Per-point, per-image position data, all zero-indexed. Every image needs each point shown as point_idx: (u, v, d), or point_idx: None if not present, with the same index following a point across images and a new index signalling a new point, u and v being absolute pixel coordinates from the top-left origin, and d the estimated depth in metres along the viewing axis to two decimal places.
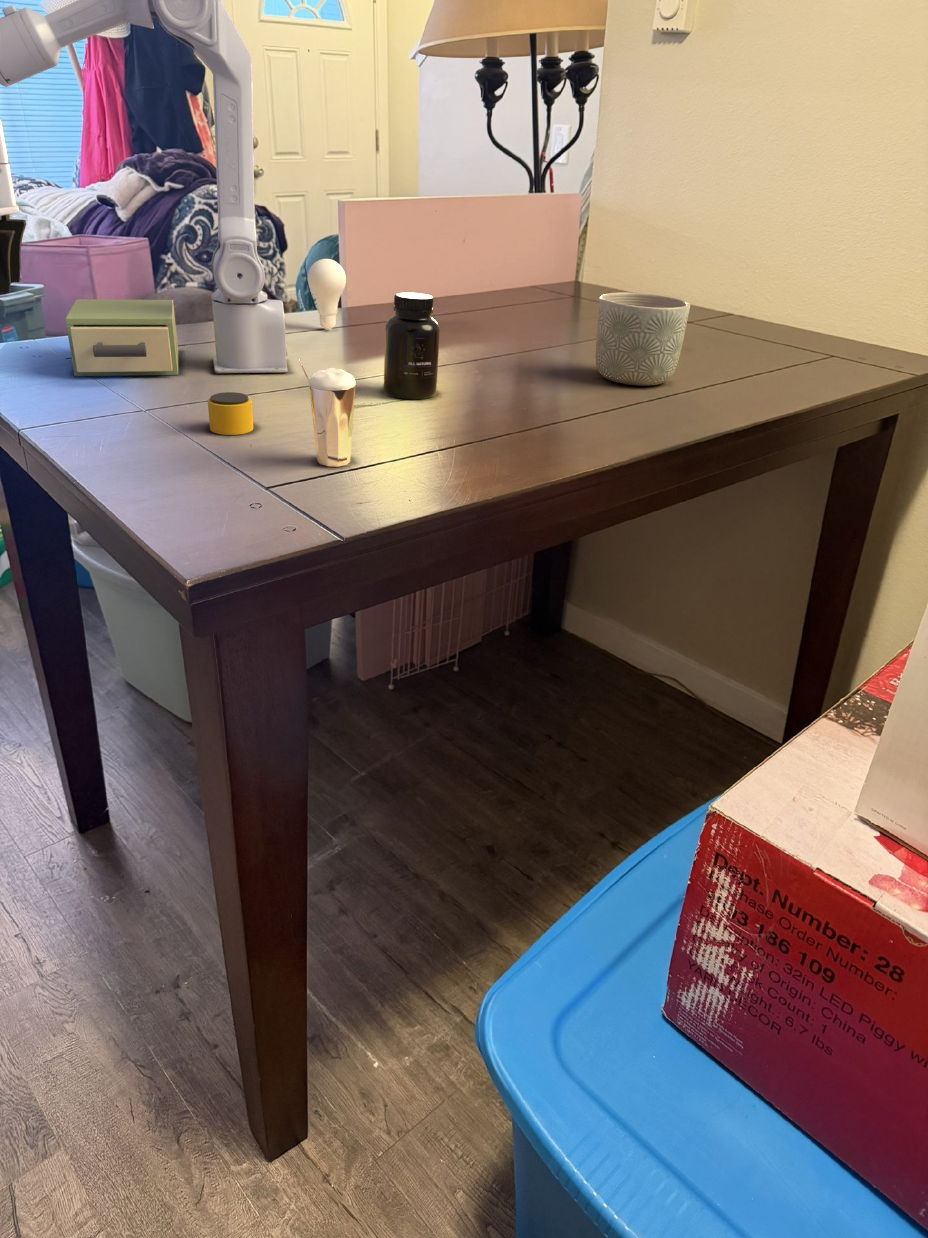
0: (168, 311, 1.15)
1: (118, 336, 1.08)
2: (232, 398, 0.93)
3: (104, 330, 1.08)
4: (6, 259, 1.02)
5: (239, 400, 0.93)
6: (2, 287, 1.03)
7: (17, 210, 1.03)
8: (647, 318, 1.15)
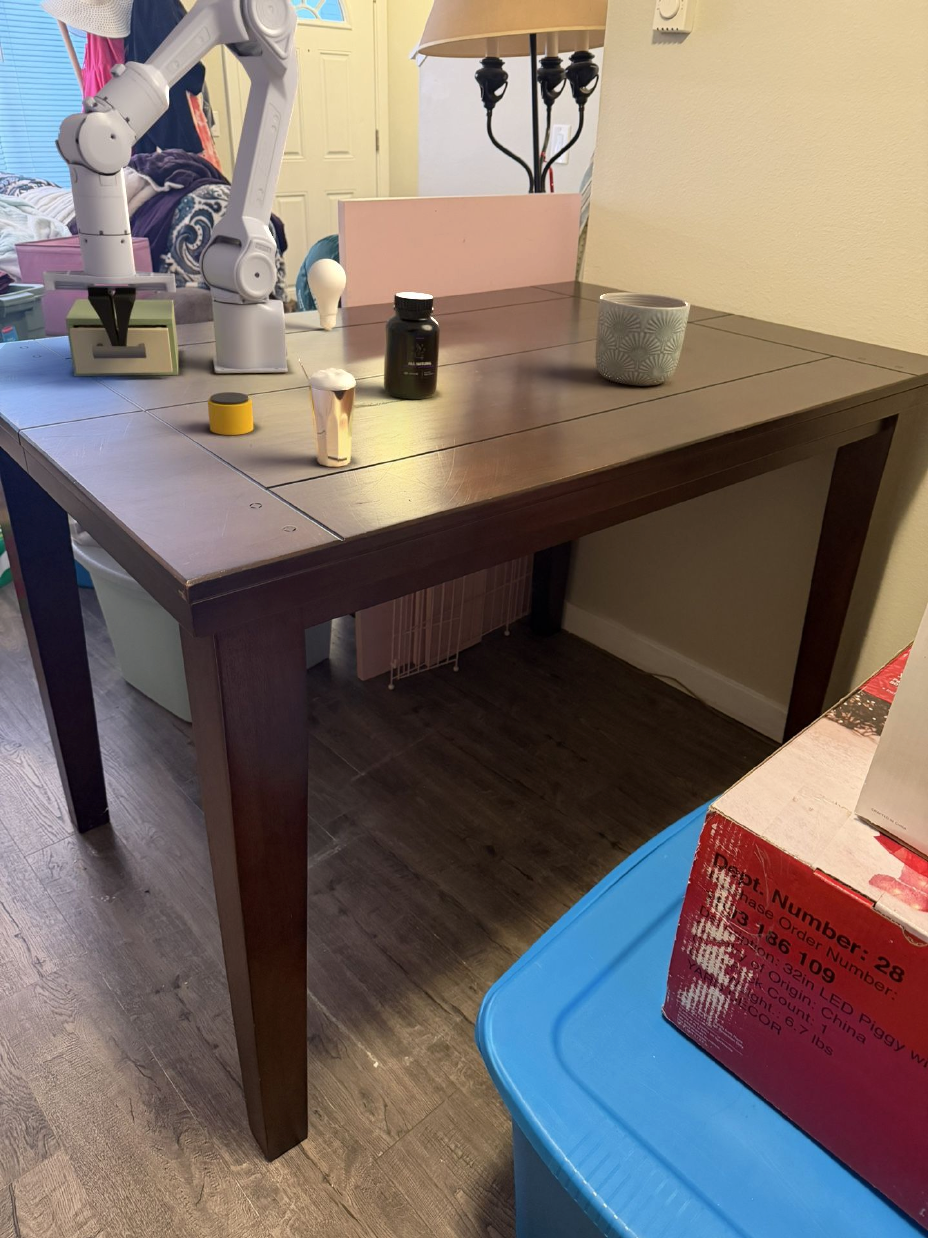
0: (168, 311, 1.15)
1: None
2: (232, 398, 0.93)
3: (104, 331, 1.07)
4: (102, 323, 1.04)
5: (239, 400, 0.93)
6: None
7: (103, 281, 1.00)
8: (647, 318, 1.15)
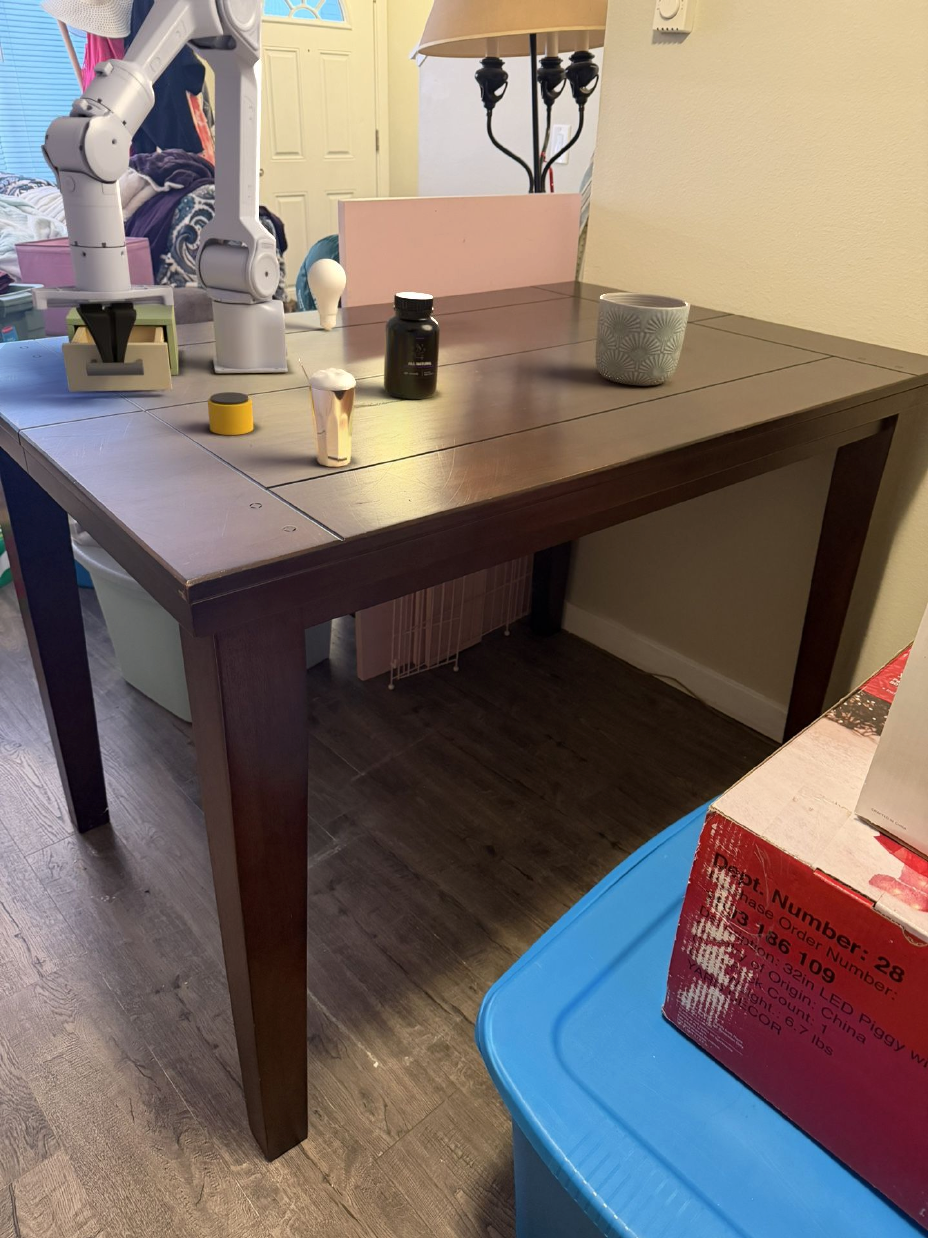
0: (168, 311, 1.15)
1: None
2: (232, 398, 0.93)
3: None
4: (98, 342, 0.96)
5: (239, 400, 0.93)
6: None
7: (105, 297, 0.94)
8: (647, 318, 1.15)
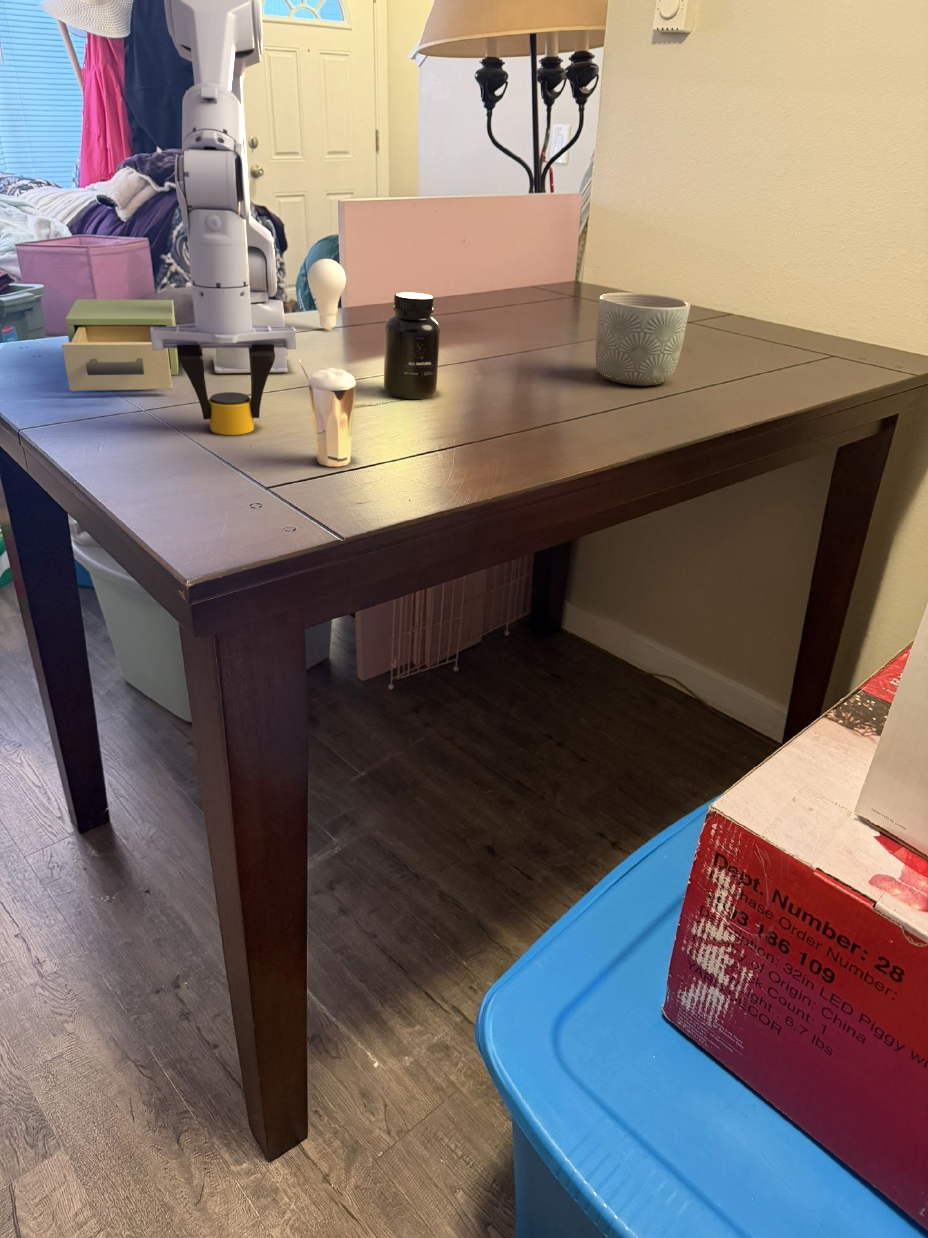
0: (168, 311, 1.15)
1: (113, 352, 1.01)
2: (232, 398, 0.93)
3: (98, 346, 1.00)
4: None
5: (239, 400, 0.93)
6: None
7: None
8: (647, 318, 1.15)
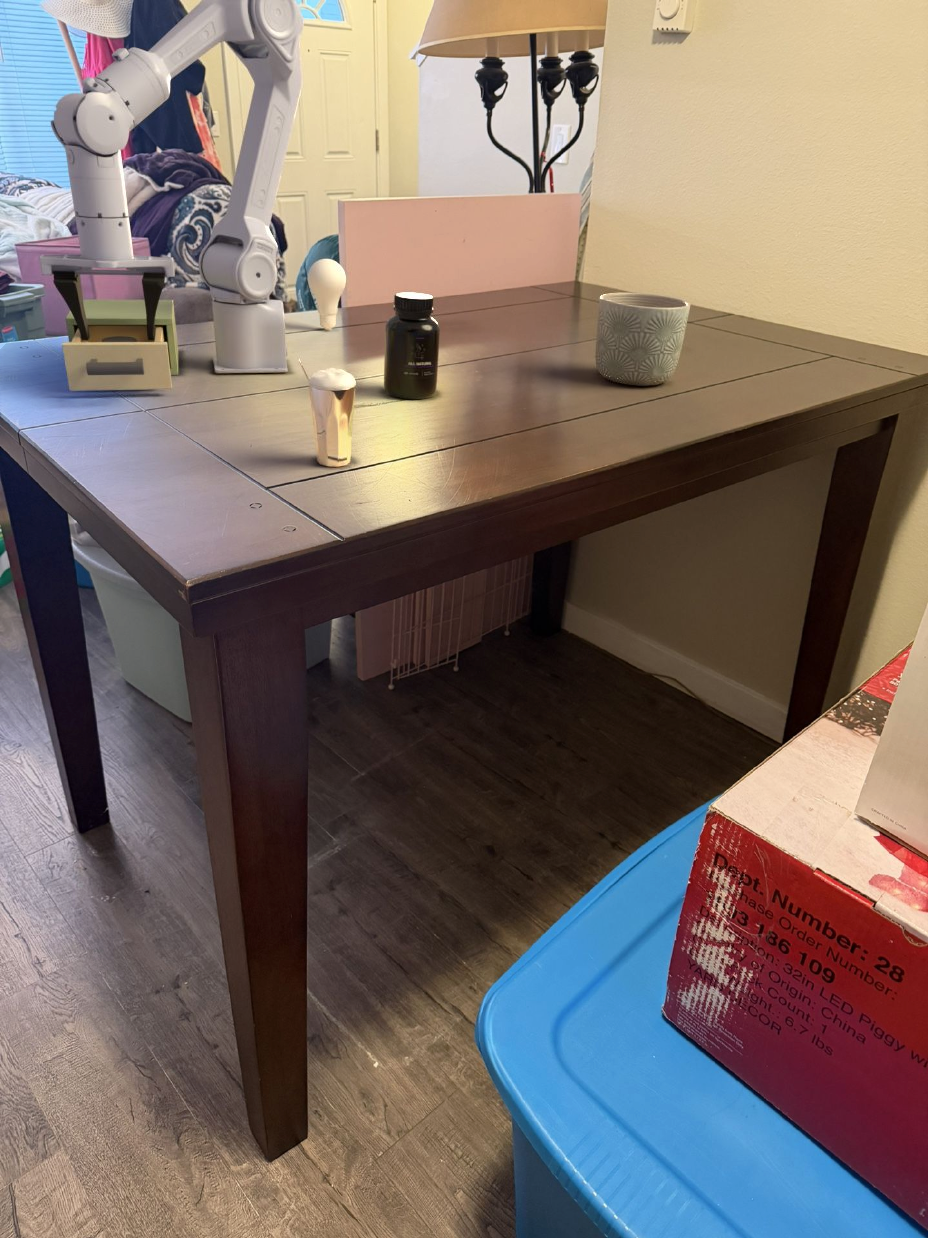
0: (168, 311, 1.15)
1: (113, 352, 1.01)
2: (121, 340, 1.05)
3: (98, 346, 1.00)
4: None
5: None
6: None
7: None
8: (647, 318, 1.15)
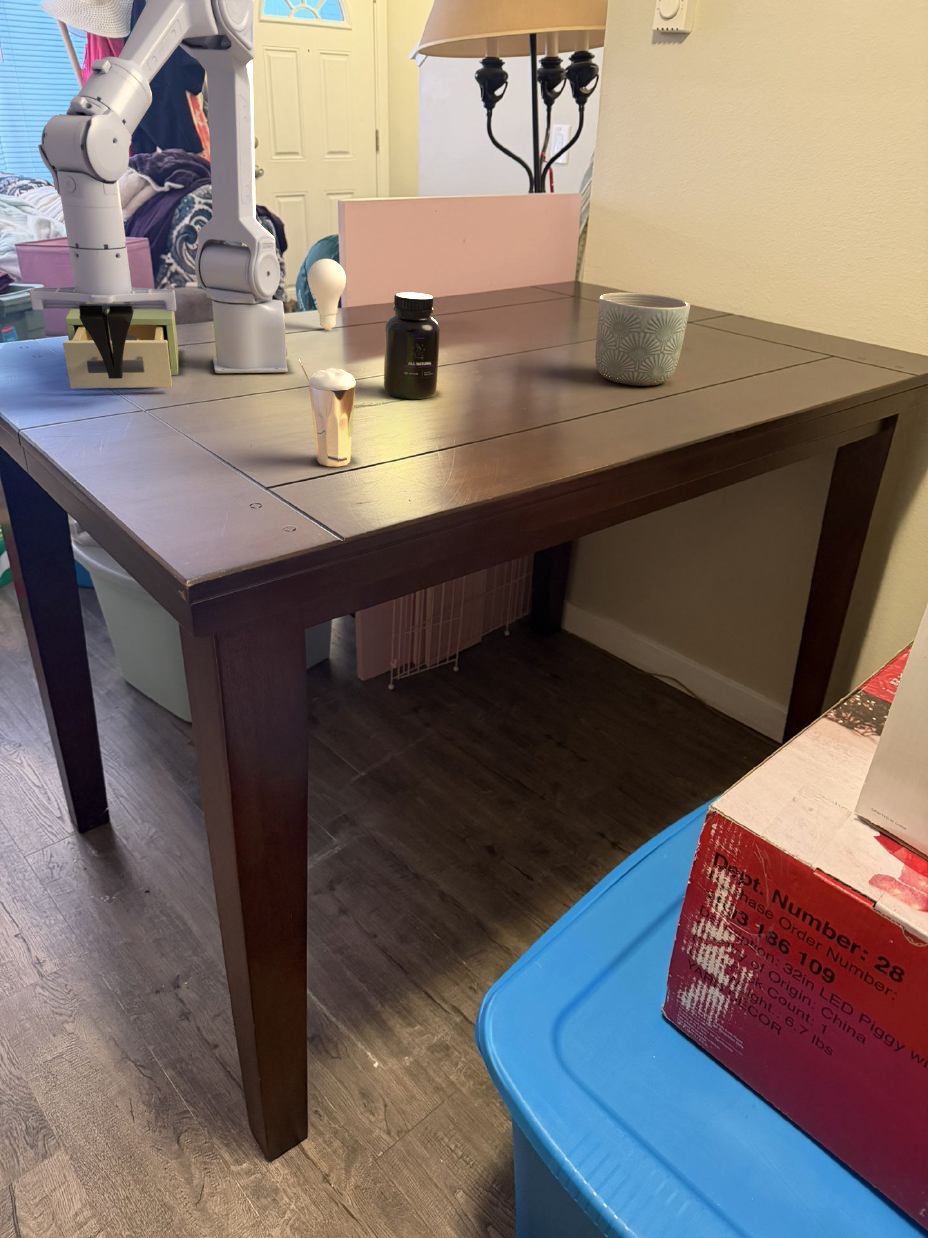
0: (168, 311, 1.15)
1: None
2: None
3: None
4: None
5: None
6: (122, 370, 0.98)
7: None
8: (647, 318, 1.15)
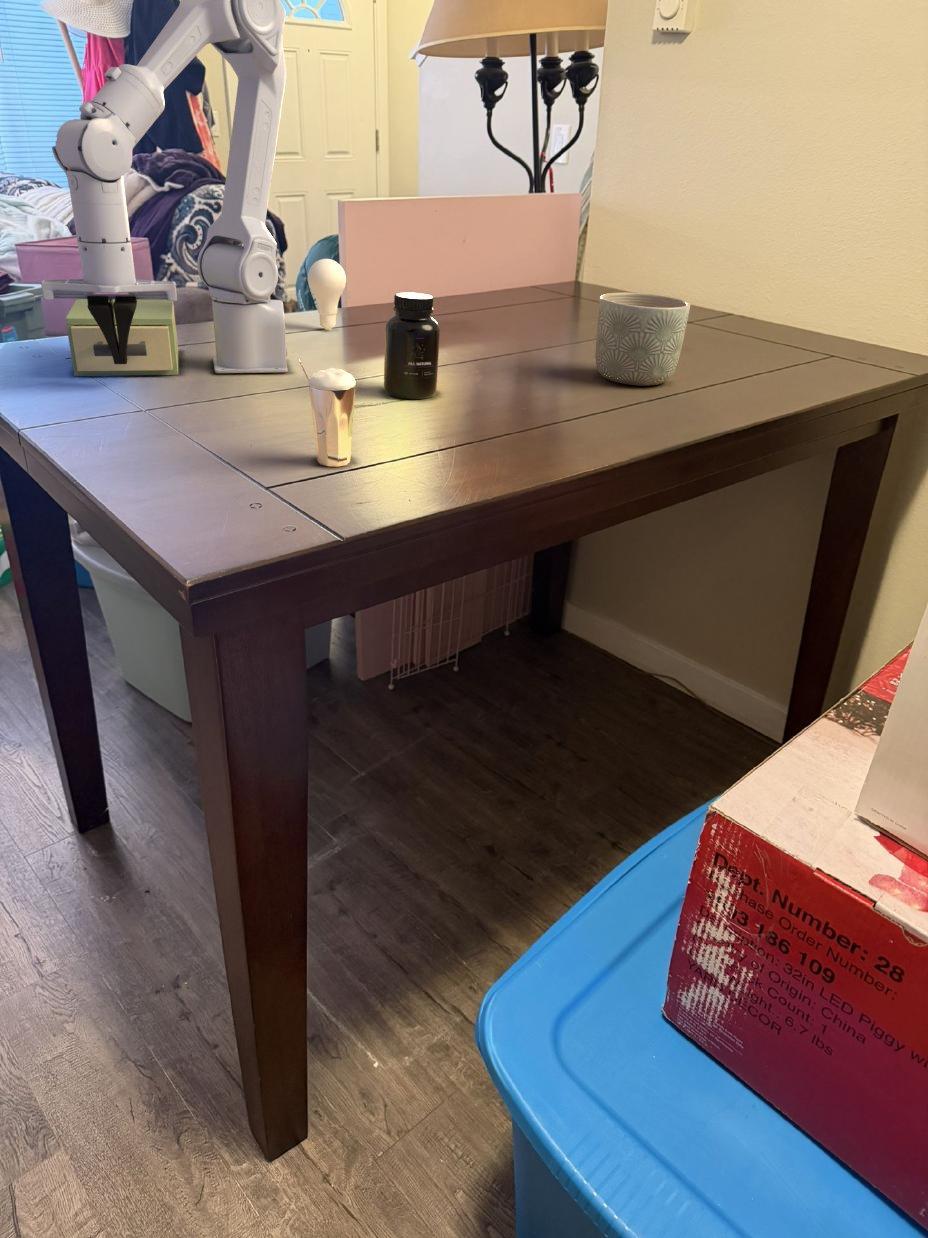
0: (168, 311, 1.15)
1: None
2: None
3: None
4: None
5: None
6: None
7: None
8: (647, 318, 1.15)
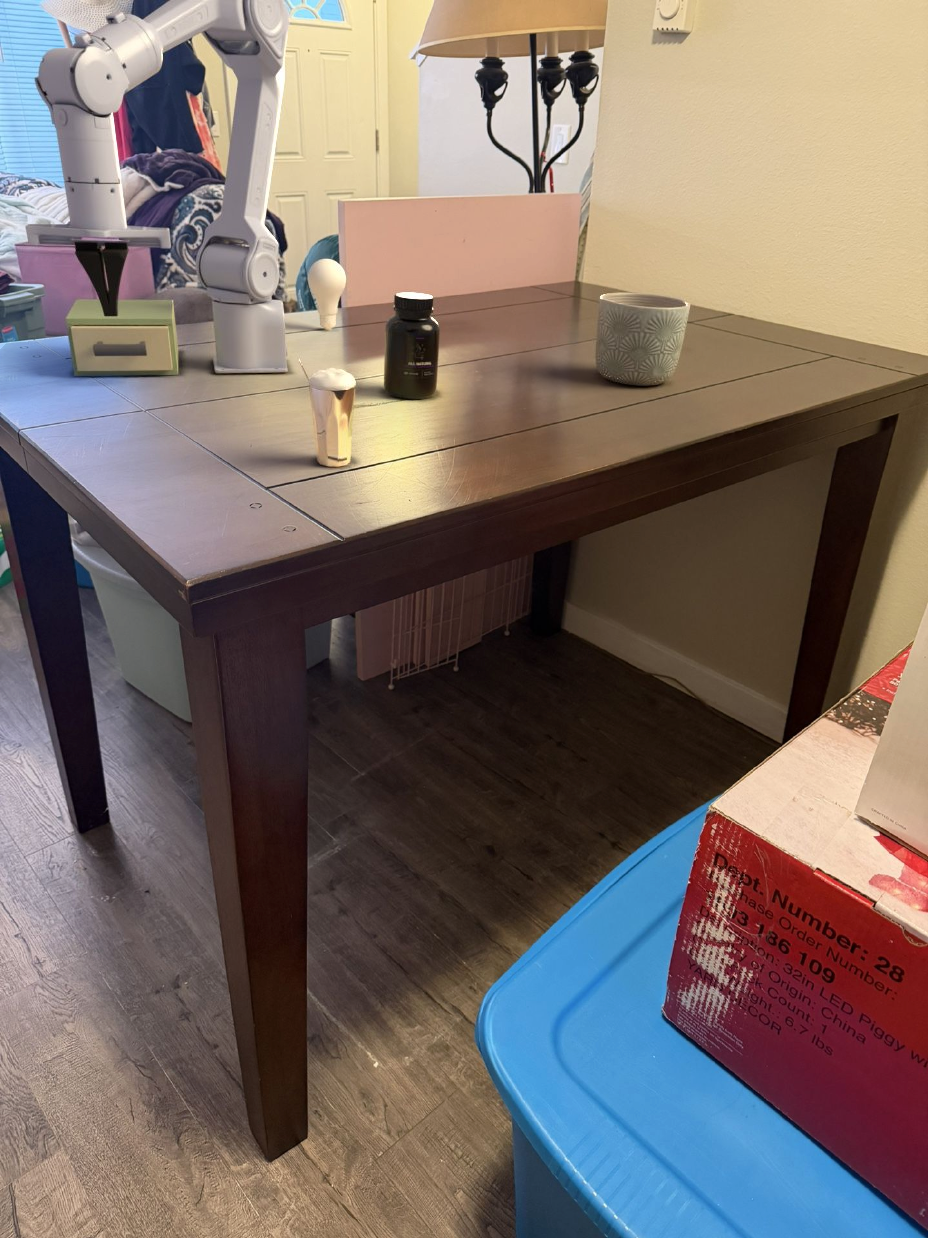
0: (168, 311, 1.15)
1: (118, 335, 1.09)
2: (125, 325, 1.13)
3: (104, 329, 1.08)
4: None
5: None
6: (117, 308, 1.00)
7: None
8: (647, 318, 1.15)
